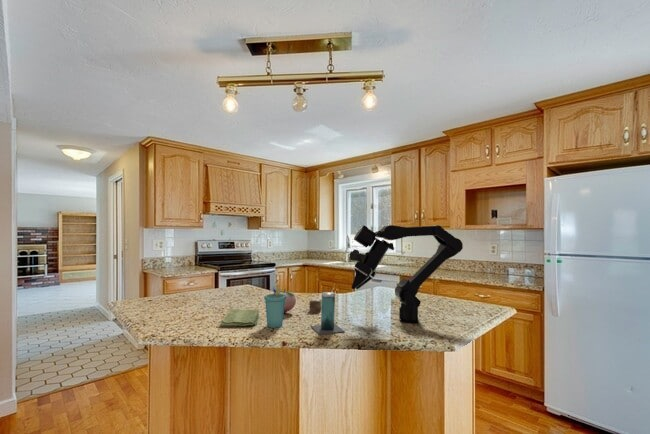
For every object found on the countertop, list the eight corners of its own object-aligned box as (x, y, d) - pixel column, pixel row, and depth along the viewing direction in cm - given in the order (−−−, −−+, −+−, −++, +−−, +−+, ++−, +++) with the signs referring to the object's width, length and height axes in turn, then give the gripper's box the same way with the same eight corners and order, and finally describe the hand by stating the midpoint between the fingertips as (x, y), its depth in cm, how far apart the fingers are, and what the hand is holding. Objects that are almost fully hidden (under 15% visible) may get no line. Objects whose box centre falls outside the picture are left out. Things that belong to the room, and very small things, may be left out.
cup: (285, 332, 109) (286, 287, 110) (262, 333, 108) (262, 287, 109) (285, 320, 123) (286, 280, 124) (264, 321, 122) (265, 281, 123)
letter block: (321, 309, 141) (321, 298, 141) (320, 312, 136) (320, 301, 136) (311, 309, 141) (311, 298, 141) (309, 312, 137) (309, 300, 137)
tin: (332, 326, 115) (333, 292, 116) (335, 330, 110) (336, 294, 111) (319, 326, 114) (320, 292, 115) (322, 330, 110) (322, 294, 110)
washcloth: (218, 329, 113) (218, 320, 114) (228, 316, 131) (228, 308, 131) (256, 328, 115) (256, 319, 115) (261, 315, 132) (261, 307, 132)
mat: (334, 324, 118) (334, 323, 118) (344, 332, 110) (344, 331, 110) (311, 327, 115) (311, 326, 115) (319, 335, 106) (319, 333, 107)
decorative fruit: (269, 314, 132) (269, 289, 132) (278, 310, 139) (278, 286, 140) (290, 316, 129) (290, 291, 129) (298, 311, 136) (298, 287, 137)
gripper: (361, 246, 136) (341, 277, 135) (354, 239, 118) (331, 276, 117) (384, 260, 132) (364, 293, 131) (381, 255, 114) (357, 293, 114)
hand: (354, 288), depth 123 cm, fingers open, 9 cm apart
